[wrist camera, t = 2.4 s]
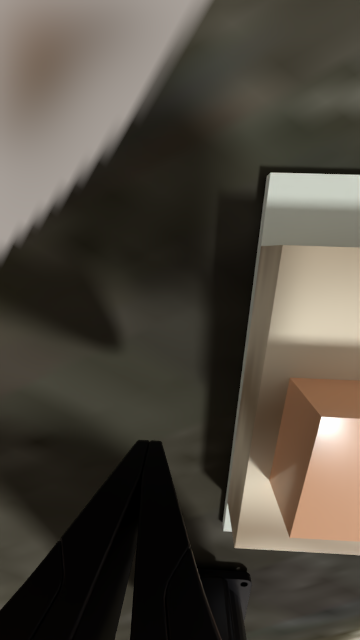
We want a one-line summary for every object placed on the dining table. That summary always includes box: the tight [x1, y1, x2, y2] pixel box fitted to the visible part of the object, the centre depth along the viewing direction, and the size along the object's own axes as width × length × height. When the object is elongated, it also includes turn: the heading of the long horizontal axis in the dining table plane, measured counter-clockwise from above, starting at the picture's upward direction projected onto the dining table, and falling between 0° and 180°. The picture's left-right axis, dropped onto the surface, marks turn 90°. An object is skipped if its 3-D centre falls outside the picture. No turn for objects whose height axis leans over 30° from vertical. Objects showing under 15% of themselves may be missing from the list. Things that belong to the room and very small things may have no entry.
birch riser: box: [227, 245, 360, 555], centre depth 10 cm, size 14×9×2 cm, turn 178°
